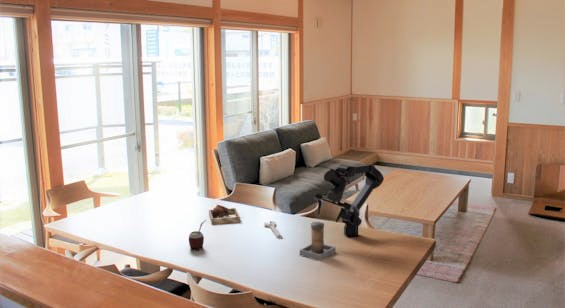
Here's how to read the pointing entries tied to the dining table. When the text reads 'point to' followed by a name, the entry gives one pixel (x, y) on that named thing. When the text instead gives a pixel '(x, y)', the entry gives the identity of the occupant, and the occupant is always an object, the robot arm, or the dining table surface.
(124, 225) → the dining table surface
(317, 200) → the robot arm
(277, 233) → the adjustable wrench
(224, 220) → the tray
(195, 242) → the mate gourd
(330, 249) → the tray
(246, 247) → the dining table surface
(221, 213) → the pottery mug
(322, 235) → the walnut canister
